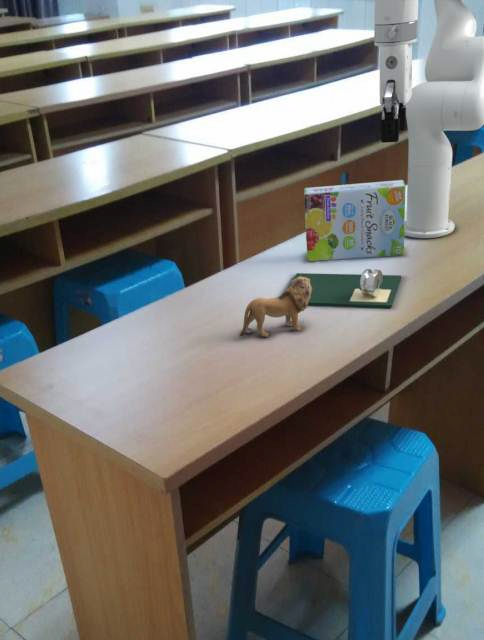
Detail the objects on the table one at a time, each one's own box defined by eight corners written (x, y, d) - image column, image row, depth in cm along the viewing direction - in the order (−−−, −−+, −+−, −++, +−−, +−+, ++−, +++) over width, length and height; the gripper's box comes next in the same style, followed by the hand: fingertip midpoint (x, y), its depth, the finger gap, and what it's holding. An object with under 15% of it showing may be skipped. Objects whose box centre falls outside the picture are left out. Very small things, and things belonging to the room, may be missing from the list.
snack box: (401, 247, 161) (403, 178, 153) (403, 256, 156) (406, 185, 148) (307, 253, 164) (304, 186, 156) (306, 262, 159) (303, 193, 151)
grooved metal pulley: (373, 300, 137) (373, 275, 134) (358, 298, 138) (358, 274, 135) (382, 290, 140) (382, 266, 137) (368, 289, 141) (368, 264, 139)
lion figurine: (306, 316, 136) (304, 270, 131) (318, 326, 132) (317, 279, 127) (234, 334, 132) (229, 288, 127) (244, 345, 128) (240, 298, 123)
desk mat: (296, 275, 153) (296, 272, 153) (401, 278, 146) (401, 274, 146) (278, 304, 142) (278, 300, 141) (390, 308, 135) (390, 304, 134)
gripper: (411, 38, 120) (407, 146, 130) (422, 26, 133) (418, 125, 143) (366, 42, 122) (366, 147, 132) (381, 30, 136) (380, 126, 145)
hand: (393, 135), depth 137 cm, fingers open, 9 cm apart
